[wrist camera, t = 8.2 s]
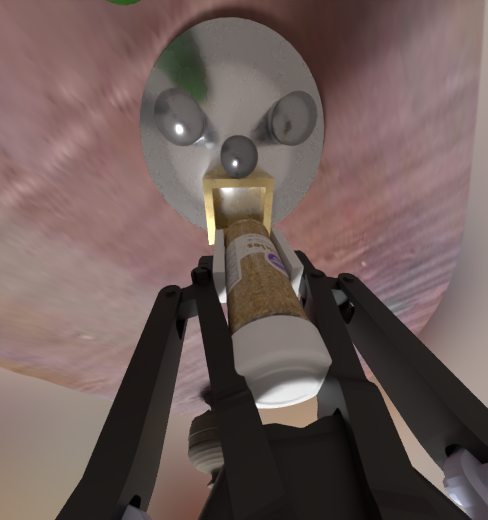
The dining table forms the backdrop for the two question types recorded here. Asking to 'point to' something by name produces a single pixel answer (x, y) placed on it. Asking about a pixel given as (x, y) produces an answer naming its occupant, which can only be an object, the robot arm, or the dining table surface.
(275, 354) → the sprinkles bottle
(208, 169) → the carrier
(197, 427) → the pot
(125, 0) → the candle
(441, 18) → the dining table surface
